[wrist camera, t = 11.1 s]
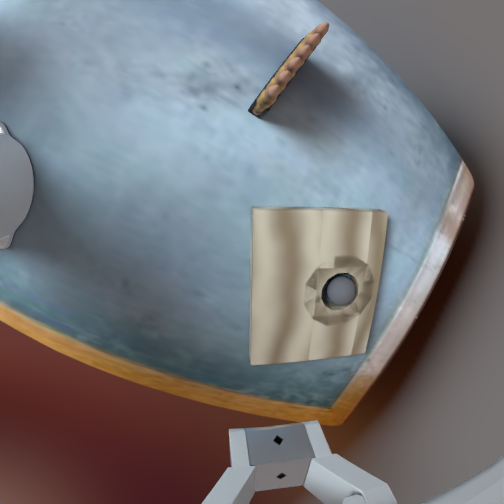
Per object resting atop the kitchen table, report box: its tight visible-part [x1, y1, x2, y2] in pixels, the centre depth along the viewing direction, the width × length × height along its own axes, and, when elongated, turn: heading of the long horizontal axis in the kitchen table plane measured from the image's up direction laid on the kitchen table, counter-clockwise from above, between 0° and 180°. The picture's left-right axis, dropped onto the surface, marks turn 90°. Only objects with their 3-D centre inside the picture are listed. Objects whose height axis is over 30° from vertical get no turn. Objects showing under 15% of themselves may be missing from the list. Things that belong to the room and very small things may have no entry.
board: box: [249, 207, 388, 365], centre depth 41 cm, size 18×22×2 cm
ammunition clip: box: [248, 23, 329, 119], centre depth 28 cm, size 11×2×12 cm, turn 146°
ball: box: [327, 276, 356, 305], centre depth 41 cm, size 4×4×4 cm
